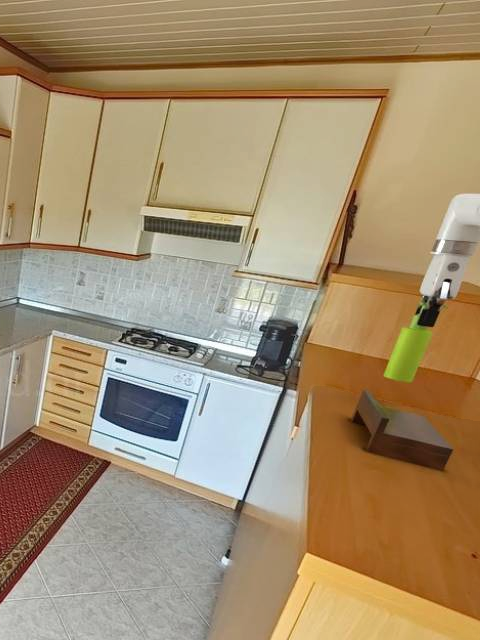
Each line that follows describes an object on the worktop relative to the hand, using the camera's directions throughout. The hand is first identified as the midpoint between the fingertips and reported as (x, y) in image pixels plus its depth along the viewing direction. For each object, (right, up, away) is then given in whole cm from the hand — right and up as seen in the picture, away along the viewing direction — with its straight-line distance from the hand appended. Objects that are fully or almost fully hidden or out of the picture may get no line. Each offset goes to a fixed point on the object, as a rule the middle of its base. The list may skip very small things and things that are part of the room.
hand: (422, 324), depth 122 cm
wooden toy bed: (-23, -28, -17) cm, 40 cm away
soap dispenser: (-1, -14, +5) cm, 15 cm away
